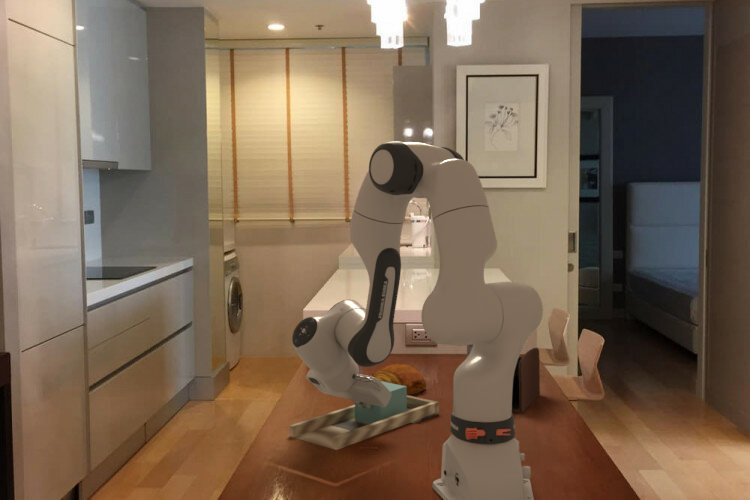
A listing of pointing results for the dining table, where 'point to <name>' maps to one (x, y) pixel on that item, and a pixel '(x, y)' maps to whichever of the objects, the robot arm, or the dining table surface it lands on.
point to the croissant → (402, 377)
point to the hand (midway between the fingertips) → (366, 405)
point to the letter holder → (526, 381)
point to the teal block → (379, 413)
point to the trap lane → (358, 424)
